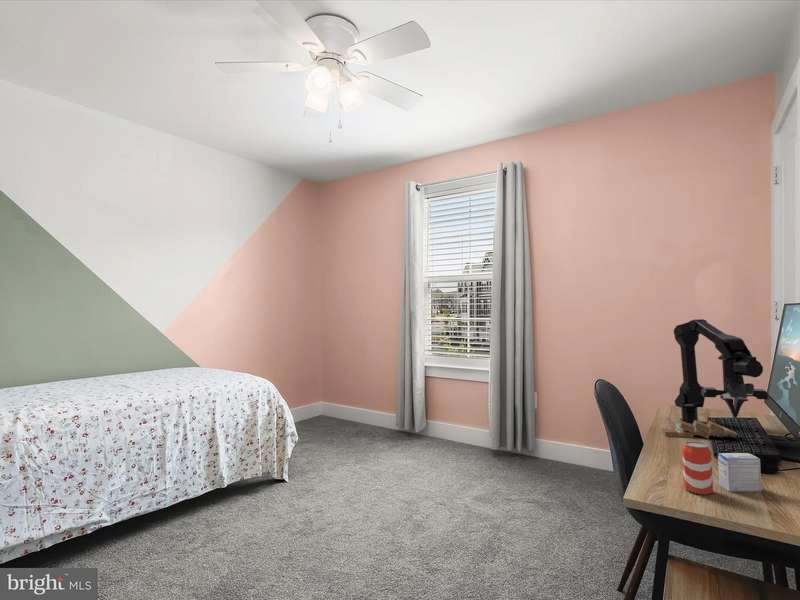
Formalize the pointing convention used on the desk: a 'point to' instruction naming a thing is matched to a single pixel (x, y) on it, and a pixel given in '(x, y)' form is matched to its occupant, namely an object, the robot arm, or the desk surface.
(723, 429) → the domino
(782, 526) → the desk surface
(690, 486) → the beverage can
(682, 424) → the domino
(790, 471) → the desk surface
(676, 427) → the end domino
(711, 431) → the domino
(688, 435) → the domino
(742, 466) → the medicine box
